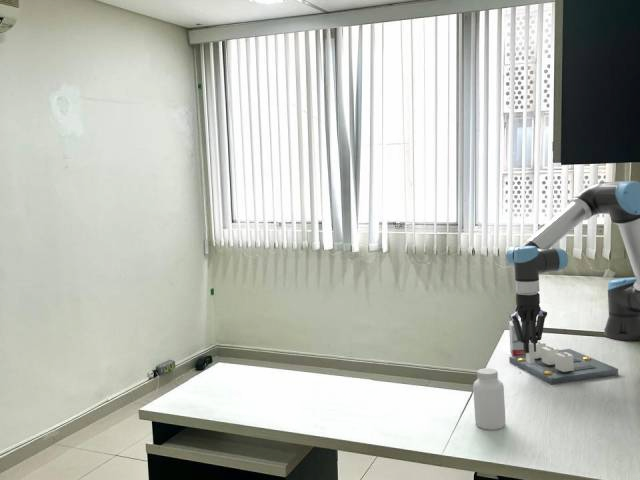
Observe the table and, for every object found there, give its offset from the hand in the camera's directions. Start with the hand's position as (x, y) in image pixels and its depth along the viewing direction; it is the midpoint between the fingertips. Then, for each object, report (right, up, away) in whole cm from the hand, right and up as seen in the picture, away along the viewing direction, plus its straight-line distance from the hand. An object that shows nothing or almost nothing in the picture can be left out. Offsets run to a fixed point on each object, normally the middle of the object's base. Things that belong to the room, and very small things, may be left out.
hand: (530, 361), depth 203 cm
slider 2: (+7, -1, +2) cm, 8 cm away
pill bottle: (-25, -9, -39) cm, 47 cm away
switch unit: (+11, -3, +3) cm, 12 cm away
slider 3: (+9, -1, -6) cm, 11 cm away
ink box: (+3, -2, +22) cm, 23 cm away
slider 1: (+6, 0, +9) cm, 11 cm away
